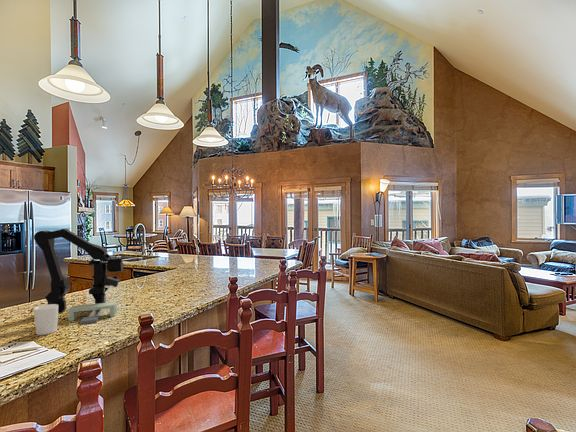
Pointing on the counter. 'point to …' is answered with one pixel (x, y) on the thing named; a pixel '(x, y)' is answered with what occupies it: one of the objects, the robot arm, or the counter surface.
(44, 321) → the white cup
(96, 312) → the grey hammer
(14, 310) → the counter surface
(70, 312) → the bracket
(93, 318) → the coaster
